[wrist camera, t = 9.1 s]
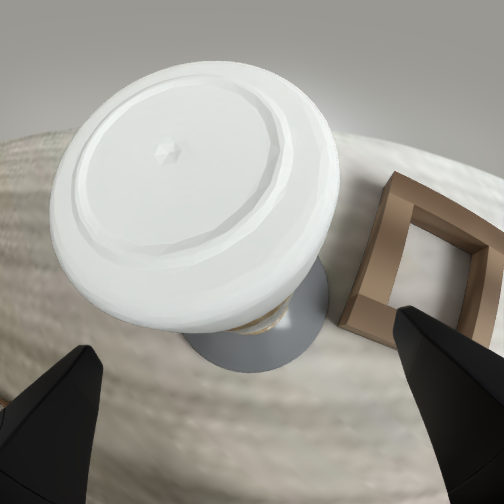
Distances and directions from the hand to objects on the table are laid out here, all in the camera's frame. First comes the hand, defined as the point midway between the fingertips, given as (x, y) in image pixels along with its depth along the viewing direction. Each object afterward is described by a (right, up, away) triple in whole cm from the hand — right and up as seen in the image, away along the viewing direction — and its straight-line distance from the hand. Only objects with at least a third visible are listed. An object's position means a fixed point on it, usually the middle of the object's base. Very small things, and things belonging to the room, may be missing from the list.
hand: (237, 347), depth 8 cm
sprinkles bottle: (0, 0, +9) cm, 9 cm away
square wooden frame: (+12, +1, +9) cm, 15 cm away
